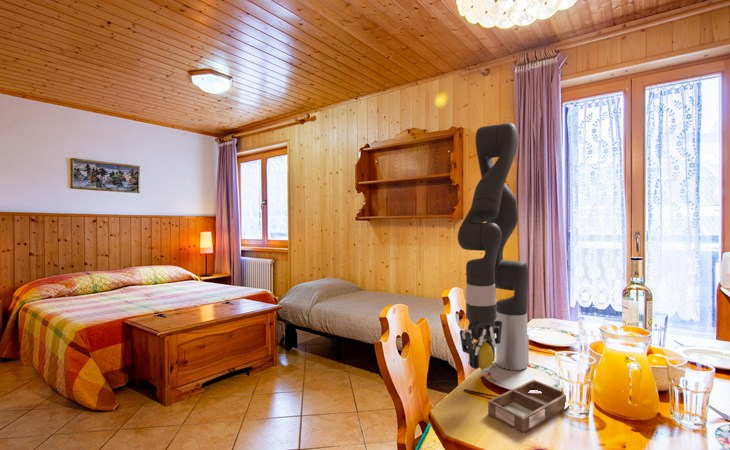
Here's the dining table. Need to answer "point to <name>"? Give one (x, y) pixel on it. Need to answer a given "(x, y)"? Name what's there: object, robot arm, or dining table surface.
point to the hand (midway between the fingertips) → (482, 364)
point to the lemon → (485, 355)
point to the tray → (527, 406)
